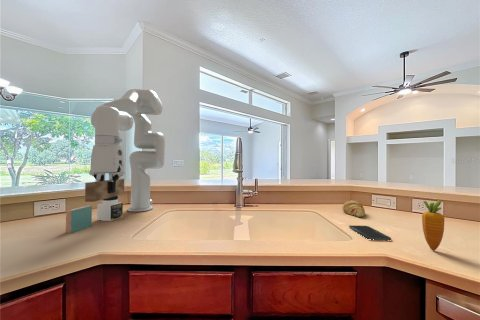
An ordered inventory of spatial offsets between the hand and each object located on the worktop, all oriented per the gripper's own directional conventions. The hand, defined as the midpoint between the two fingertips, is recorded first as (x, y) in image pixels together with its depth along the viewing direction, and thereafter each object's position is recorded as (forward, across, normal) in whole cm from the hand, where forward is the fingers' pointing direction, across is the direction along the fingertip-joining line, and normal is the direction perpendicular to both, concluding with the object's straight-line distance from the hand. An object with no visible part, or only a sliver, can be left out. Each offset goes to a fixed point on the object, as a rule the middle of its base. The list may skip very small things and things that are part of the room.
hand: (106, 192), depth 78 cm
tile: (+15, +14, -4) cm, 21 cm away
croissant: (+15, -103, -42) cm, 113 cm away
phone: (+15, -95, -9) cm, 97 cm away
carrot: (+15, -106, +5) cm, 107 cm away
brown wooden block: (+2, 0, 0) cm, 2 cm away
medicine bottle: (+15, +12, -19) cm, 27 cm away
